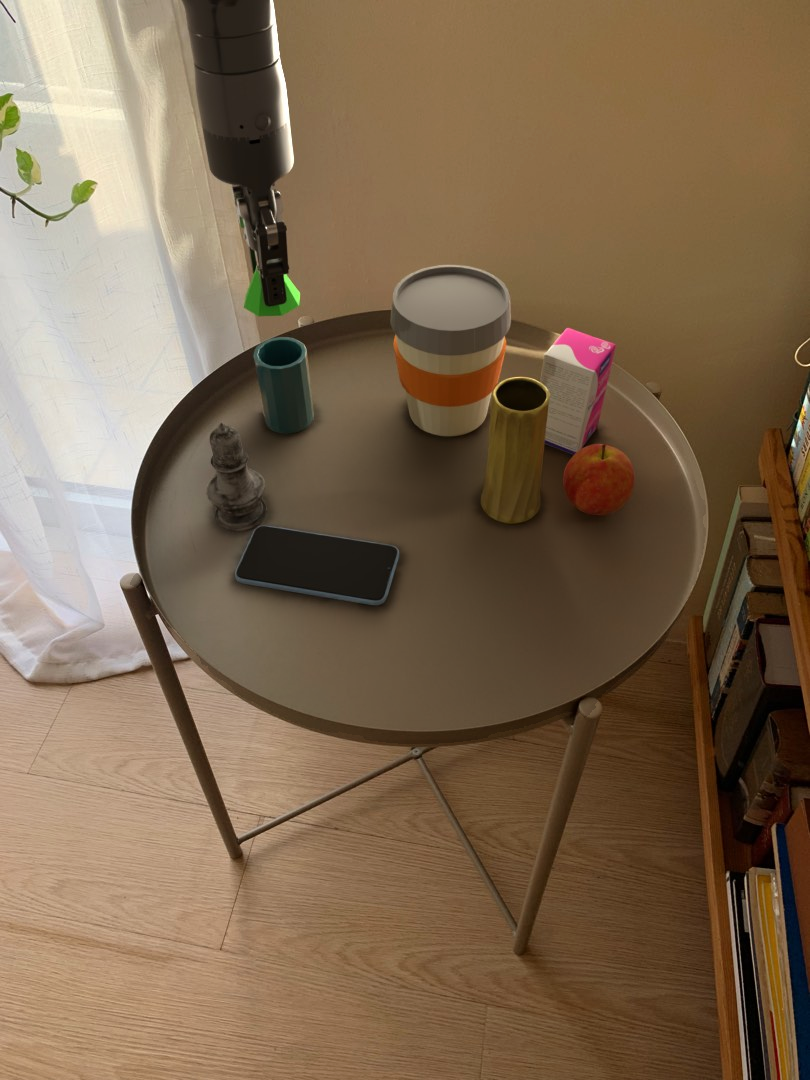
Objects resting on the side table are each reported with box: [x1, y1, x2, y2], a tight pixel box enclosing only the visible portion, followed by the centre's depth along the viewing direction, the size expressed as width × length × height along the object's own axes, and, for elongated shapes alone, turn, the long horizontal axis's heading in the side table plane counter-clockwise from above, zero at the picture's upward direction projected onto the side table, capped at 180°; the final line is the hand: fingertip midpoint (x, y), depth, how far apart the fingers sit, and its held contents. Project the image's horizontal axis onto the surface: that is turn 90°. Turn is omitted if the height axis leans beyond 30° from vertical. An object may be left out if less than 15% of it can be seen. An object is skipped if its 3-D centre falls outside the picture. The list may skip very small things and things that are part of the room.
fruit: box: [562, 443, 635, 516], centre depth 88 cm, size 7×7×8 cm
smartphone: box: [234, 525, 400, 606], centre depth 86 cm, size 7×1×15 cm
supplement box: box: [539, 327, 617, 456], centre depth 94 cm, size 6×6×12 cm
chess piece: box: [205, 422, 268, 532], centre depth 87 cm, size 6×6×12 cm
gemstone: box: [243, 268, 301, 317], centre depth 87 cm, size 6×6×6 cm
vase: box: [480, 376, 550, 524], centre depth 86 cm, size 6×6×14 cm
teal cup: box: [252, 336, 315, 435], centre depth 98 cm, size 6×6×9 cm
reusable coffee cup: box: [390, 264, 512, 437], centre depth 96 cm, size 13×13×15 cm
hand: (269, 289), depth 88 cm, fingers closed on gemstone, 4 cm apart
